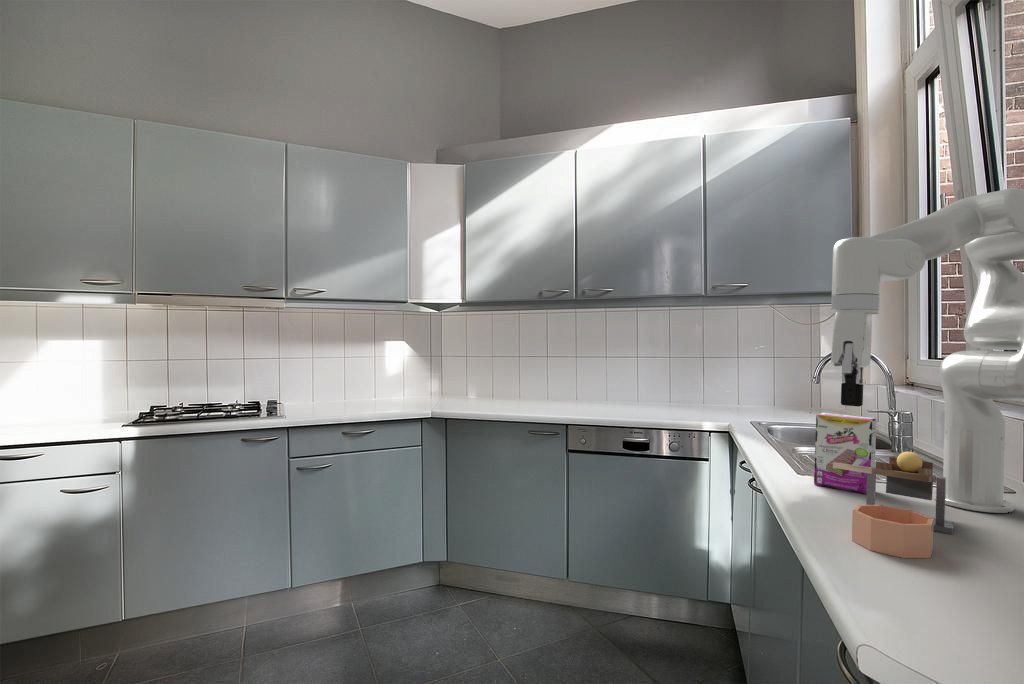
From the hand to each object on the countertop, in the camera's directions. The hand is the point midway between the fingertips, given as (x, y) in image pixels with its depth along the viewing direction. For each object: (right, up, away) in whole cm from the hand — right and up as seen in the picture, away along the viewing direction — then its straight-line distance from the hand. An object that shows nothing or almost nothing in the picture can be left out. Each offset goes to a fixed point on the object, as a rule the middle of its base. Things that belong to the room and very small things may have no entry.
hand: (851, 405), depth 100 cm
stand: (+9, -21, 0) cm, 23 cm away
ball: (+14, -12, +5) cm, 19 cm away
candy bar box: (+12, -22, +23) cm, 34 cm away
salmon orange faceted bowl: (-1, -21, -12) cm, 25 cm away
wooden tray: (+7, -17, +1) cm, 18 cm away
